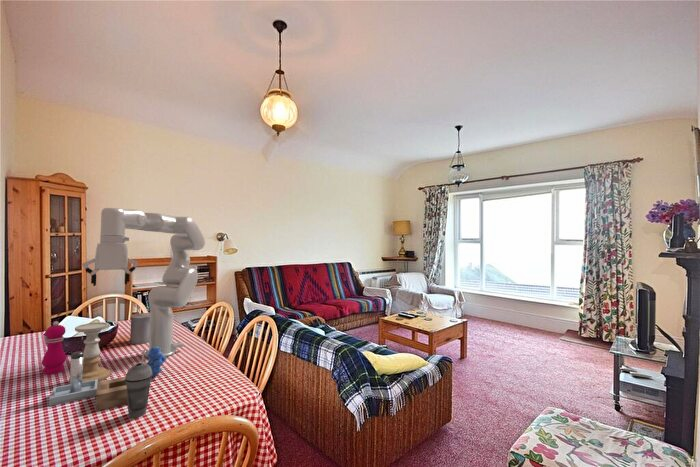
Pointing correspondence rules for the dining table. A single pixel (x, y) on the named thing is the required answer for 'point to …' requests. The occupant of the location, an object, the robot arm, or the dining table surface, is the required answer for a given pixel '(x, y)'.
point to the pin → (76, 372)
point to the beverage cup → (138, 388)
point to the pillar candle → (140, 328)
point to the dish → (63, 395)
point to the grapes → (156, 360)
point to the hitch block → (111, 393)
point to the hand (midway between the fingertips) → (110, 284)
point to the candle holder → (92, 352)
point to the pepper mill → (54, 350)
